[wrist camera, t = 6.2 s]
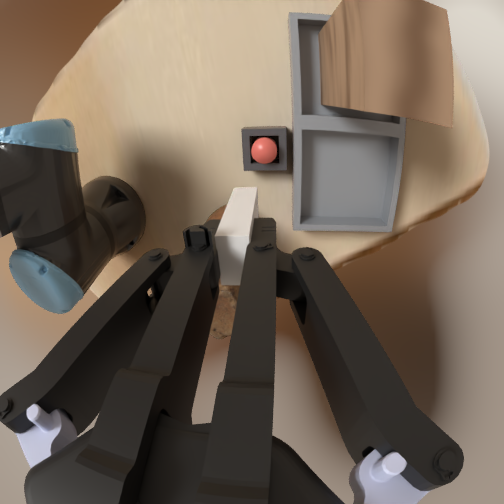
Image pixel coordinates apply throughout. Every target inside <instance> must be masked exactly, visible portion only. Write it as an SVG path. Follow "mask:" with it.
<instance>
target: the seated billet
mask: <svg viewBox="0 0 504 504" xmlns="http://www.w3.org/2000/svg"><path fill="white" fill-rule="evenodd" d="M318 41H319V60H320V91H321V105H328V106H335V107H342V108H348V109H354V110H360V111H365V112H373V113H380V114H387V115H393V116H399V117H404V118H410V119H415V120H420V121H424V122H429V123H433V124H437V125H441V126H445V127H449V128H452V122H453V100H454V79H453V57H452V45H451V36H450V28H449V21H448V15H447V10H446V9H443V8H441V7H439V6H436V5H433V4H431V3H429V2H426V1H423V0H342V1H341V3H340V4H339V6H338V7H337V8H336V10H335V11H334V12H333V14H332V15H331V17H330V18H329V19H328V21H327V22H326V24H325V25H324V27H323V28H322V29H321V31H320V32H319V34H318Z"/></svg>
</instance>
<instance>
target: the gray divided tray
mask: <svg viewBox="0 0 504 504" xmlns="http://www.w3.org/2000/svg"><path fill="white" fill-rule="evenodd" d="M330 17H331V15H324V14H312V13H291V12H289V16H288V29H289V46H290V65H291V91H292V140H293V186H292V224H293V230H307V231H367V232H392V227H393V222H394V216H395V211H396V205H397V199H398V193H399V187H400V179H401V172H402V163H403V154H404V143H405V130H406V118H404V117H399V116H393V115H387V114H380V113H373V112H365V111H360V110H354V109H348V108H342V107H335V106H328V105H321V91H320V60H319V41H318V34H319V32H320V31H321V29H322V28H323V27H324V25H325V24H326V22H327V21H328V19H329V18H330Z"/></svg>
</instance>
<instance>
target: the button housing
mask: <svg viewBox="0 0 504 504" xmlns="http://www.w3.org/2000/svg"><path fill="white" fill-rule="evenodd" d="M251 136H279V159H274V160H273V161H272V162H270V163H267V164H262V163H259V162H257V161H256V160H255V159H252V154H251V149H252V141H251ZM242 147H243V164H244V171H253V170H287V147H286V127H285V126H267V127H244V128H243V129H242Z"/></svg>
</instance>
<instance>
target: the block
mask: <svg viewBox="0 0 504 504" xmlns="http://www.w3.org/2000/svg"><path fill="white" fill-rule="evenodd" d="M226 206H227V205H224V206H222V207H220V208H219V209H218V210H216V211H215V212H214V213H213V214H211V215H210V217H209V218H208V220H207V221H209V220H211V219H222V216H223V214H224V211H225V209H226ZM239 288H240V285H221V279H219V290H220V292H219V296H218V300H217V304H216V308H215V312H214V316H213V321H212V325H211V329H210V333H209V334H210V335H212V336H213V337H214V338H216V339H223V338H225V337H227V336H231V334H232V328H233V322H234V316H235V311H236V305H237V299H238V293H239Z"/></svg>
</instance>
